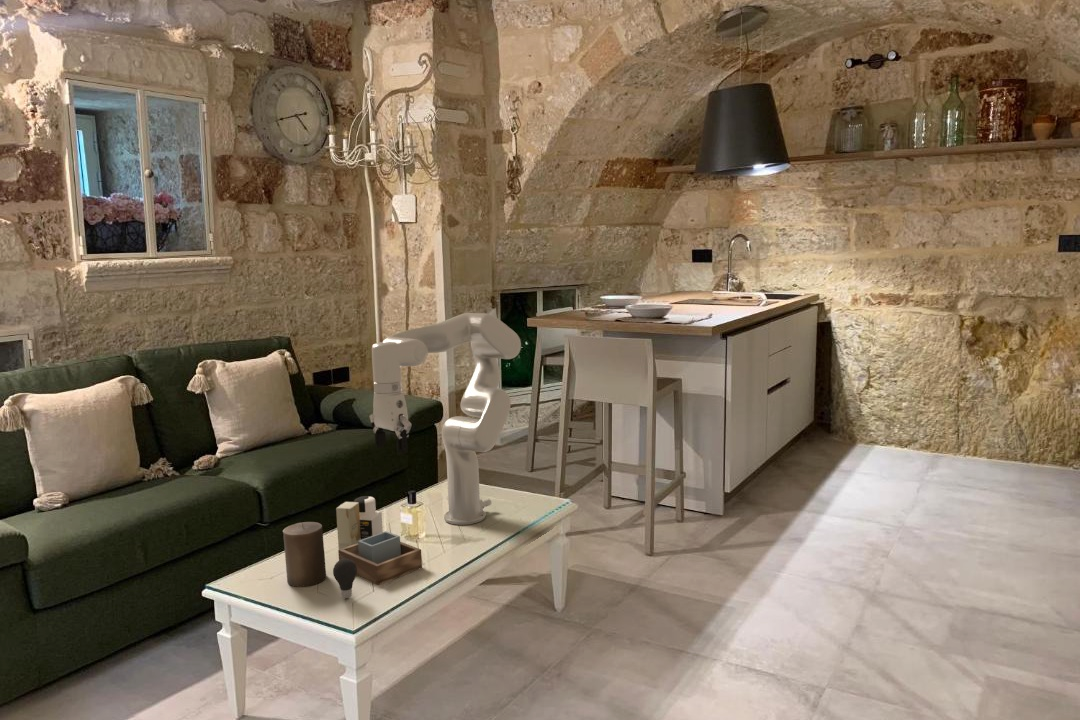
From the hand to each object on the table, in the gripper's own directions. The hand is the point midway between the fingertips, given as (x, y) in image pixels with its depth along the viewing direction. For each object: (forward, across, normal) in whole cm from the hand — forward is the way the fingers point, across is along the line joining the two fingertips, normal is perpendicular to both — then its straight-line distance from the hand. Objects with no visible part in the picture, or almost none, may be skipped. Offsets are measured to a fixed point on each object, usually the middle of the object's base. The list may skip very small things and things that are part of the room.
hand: (391, 449), depth 227 cm
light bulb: (+28, -17, +28) cm, 43 cm away
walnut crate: (+28, -8, +12) cm, 32 cm away
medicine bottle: (+28, +13, +1) cm, 31 cm away
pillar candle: (+29, +1, +28) cm, 40 cm away
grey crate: (+27, -8, +11) cm, 31 cm away
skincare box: (+28, +11, +8) cm, 32 cm away
